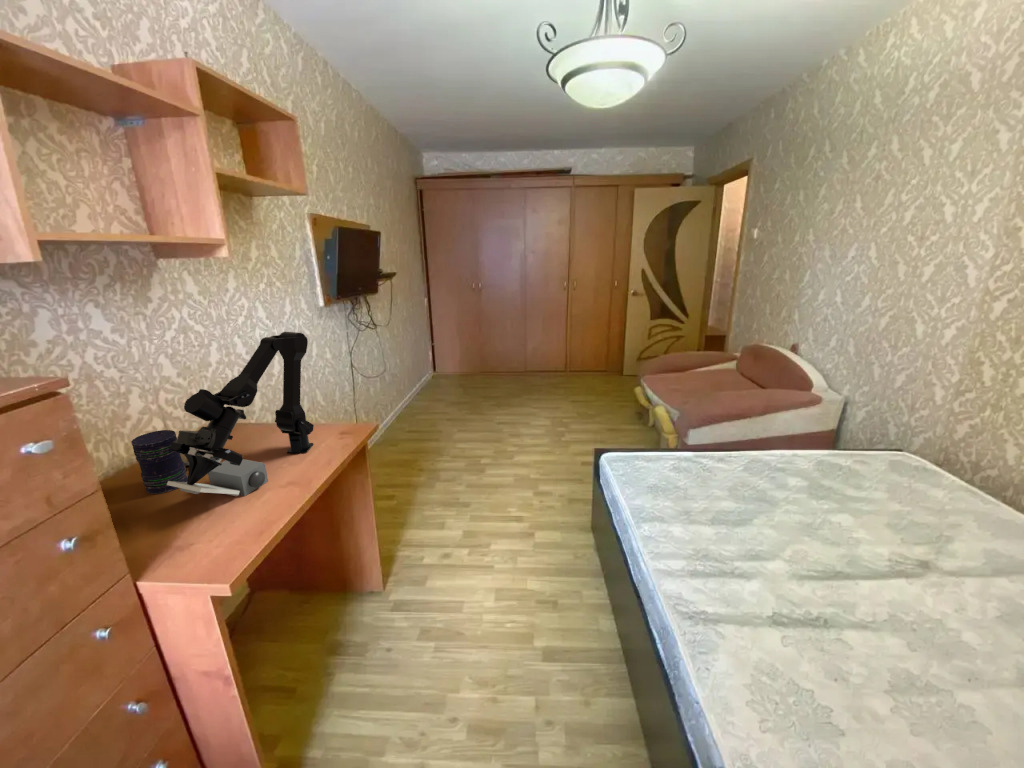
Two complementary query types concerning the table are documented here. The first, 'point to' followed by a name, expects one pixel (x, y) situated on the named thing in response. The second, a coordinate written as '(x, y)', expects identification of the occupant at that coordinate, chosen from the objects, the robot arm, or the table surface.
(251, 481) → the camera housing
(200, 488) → the door
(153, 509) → the table surface
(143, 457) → the storage jar
